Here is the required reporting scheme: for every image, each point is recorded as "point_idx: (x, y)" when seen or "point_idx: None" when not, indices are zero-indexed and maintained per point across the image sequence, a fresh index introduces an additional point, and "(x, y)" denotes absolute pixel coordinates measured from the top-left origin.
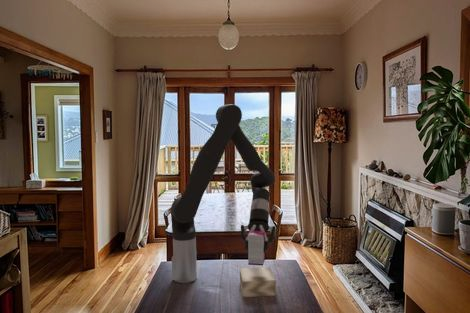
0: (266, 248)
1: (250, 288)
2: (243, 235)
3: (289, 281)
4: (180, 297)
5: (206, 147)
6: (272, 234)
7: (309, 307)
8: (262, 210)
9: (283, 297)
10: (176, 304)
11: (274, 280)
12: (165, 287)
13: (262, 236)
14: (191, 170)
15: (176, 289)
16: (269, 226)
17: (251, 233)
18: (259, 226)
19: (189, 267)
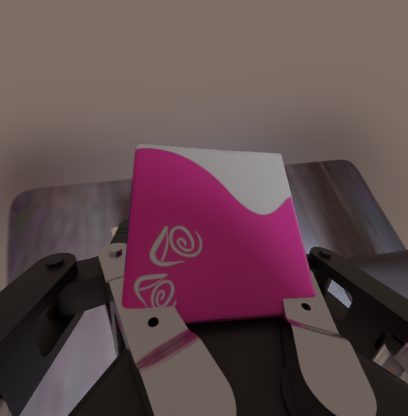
0: (126, 224)
1: None
2: (335, 266)
3: (65, 356)
4: (321, 197)
5: None
6: (5, 304)
7: (32, 192)
8: None
9: (99, 232)
10: (312, 174)
11: (115, 227)
12: (372, 232)
13: (144, 148)
14: None
15: (348, 227)
16: None
17: (269, 190)
18: (231, 392)
19: (386, 260)
